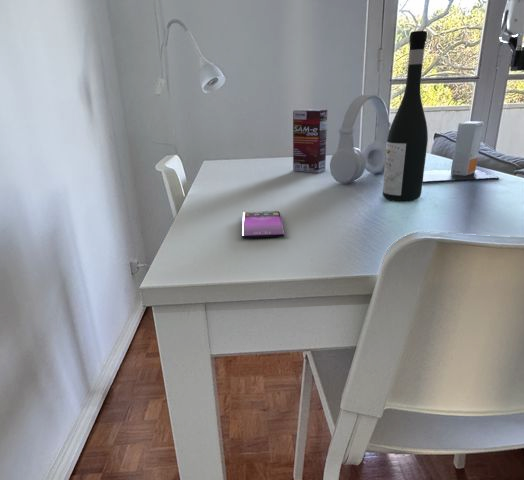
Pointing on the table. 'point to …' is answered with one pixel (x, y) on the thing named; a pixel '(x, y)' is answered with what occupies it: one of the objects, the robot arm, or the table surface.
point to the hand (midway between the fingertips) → (517, 70)
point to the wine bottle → (408, 133)
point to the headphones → (352, 159)
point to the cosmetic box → (467, 148)
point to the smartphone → (262, 224)
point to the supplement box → (309, 140)
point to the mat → (455, 176)
